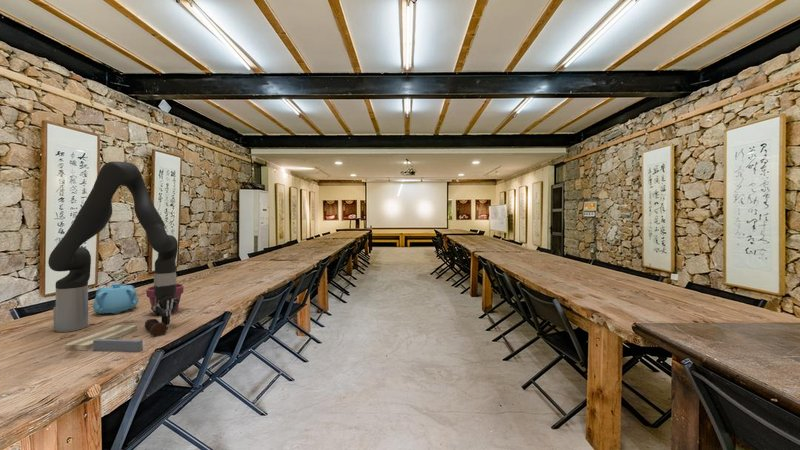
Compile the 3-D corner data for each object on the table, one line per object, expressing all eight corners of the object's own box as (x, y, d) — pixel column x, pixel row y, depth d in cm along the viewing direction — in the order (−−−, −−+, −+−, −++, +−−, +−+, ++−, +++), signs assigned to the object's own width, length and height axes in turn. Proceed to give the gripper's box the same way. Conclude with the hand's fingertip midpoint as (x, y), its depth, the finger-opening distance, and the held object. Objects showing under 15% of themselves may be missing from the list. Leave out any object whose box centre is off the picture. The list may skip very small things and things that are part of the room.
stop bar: (93, 350, 109) (93, 340, 109) (97, 348, 111) (97, 338, 111) (138, 351, 109) (138, 341, 109) (142, 349, 110) (142, 339, 110)
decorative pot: (137, 312, 152) (137, 284, 152) (90, 318, 142) (90, 288, 142) (138, 305, 165) (139, 279, 165) (96, 309, 155) (96, 282, 155)
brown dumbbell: (151, 331, 134) (161, 339, 124) (138, 327, 130) (147, 335, 120) (159, 317, 136) (170, 324, 126) (147, 314, 132) (156, 320, 123)
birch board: (65, 349, 109) (65, 344, 109) (117, 329, 129) (117, 325, 129) (87, 350, 109) (87, 345, 109) (137, 329, 129) (137, 325, 129)
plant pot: (144, 319, 143) (144, 291, 142) (148, 311, 154) (148, 285, 154) (183, 314, 150) (183, 287, 150) (183, 307, 162) (183, 282, 162)
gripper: (168, 280, 138) (168, 319, 138) (143, 286, 124) (143, 330, 125) (185, 280, 137) (185, 319, 138) (162, 287, 124) (162, 330, 125)
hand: (165, 324), depth 131 cm, fingers closed
